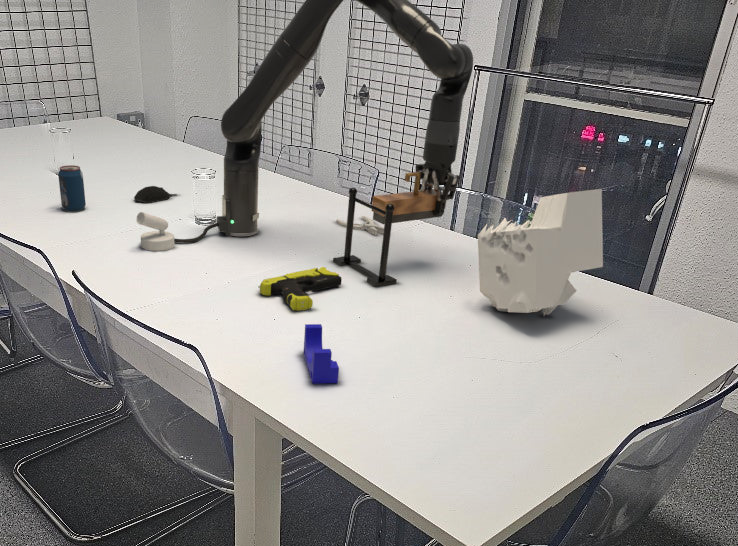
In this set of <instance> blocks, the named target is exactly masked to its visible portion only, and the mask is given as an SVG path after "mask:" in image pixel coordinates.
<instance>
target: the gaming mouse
mask: <svg viewBox="0 0 738 546" xmlns="http://www.w3.org/2000/svg"><path fill="white" fill-rule="evenodd" d="M173 196H177V193H170V192H168V191H166V189H165V188H164V187H160V186H156V185H149V186H145V187H143V188H141V189H140V190H138V191H137V192H136V193H135V195H134V196H133V199H134V201H136V202H140V203H154V202H159V201H164V200H165V201H166V200H169V199H170V198H171V197H173Z"/></svg>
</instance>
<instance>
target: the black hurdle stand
mask: <svg viewBox="0 0 738 546" xmlns="http://www.w3.org/2000/svg"><path fill="white" fill-rule="evenodd" d="M357 194H358V190H357V188H356V187H350V188H349V189H348V206H347V219H346V223H347V227H346V229H345V241H344V252H343V256H338V257H337V256H336V257H333V258H332V263H334V264H336V265H337V266H339V267H344V266H349V267H350V268H352V269H354V270H356V271H357V272H359V273H361V274H362V275H364V276H366V283H367V284H369V285H370V286H373V287H375V288H378V287H383V286H389V285H395V284H397V283H398V282H397V281H398V280H397V279H396V278H395V277H393V276H391V275H389V274H387V269H388V259H389V250H390V242H391V233H392V226H393V225H392V224H393V223H392V217H393V211H394V205H393V204H388V205H386V207H385V210H386V211H384V210H381V209H379V208H377V207H375V206H373V205H372V204H371V203H368V202H366V201H364V200H362V199H359V198H357ZM356 203H358V204H360V205H362V206H364V207H366V208H369V209H371V210H372V209H373V210H375V211H377V212H379V213H381V214H383V215H385V224H383V225H384V226H383V227H384V233H383V234H382V241H381V250H380V251H381V252H380V261H379V268H378V269H379V270H378V274H376V273H375V272H373V271H371V270H369V269H367V268H366V267H365V266H363V265H360V264H361V263H362V258H359V257H358V256H356V255H355V254H352V245H353V233H354V229H353V224H355V223H354V221H355V211H356Z"/></svg>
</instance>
